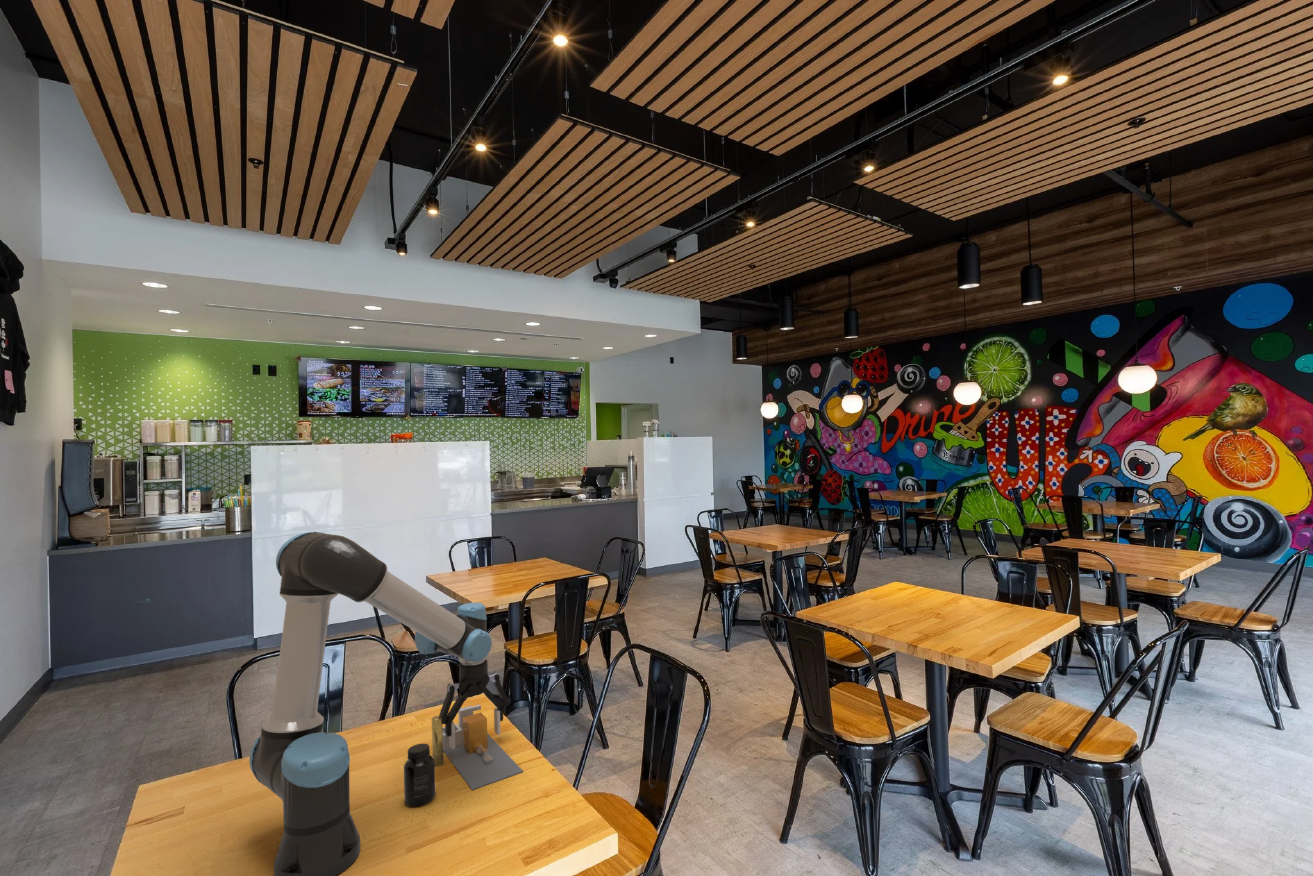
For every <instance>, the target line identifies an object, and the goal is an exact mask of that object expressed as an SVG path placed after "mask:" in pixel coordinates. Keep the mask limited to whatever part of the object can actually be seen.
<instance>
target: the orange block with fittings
mask: <svg viewBox="0 0 1313 876" xmlns="http://www.w3.org/2000/svg"><path fill="white" fill-rule="evenodd" d="M487 733H488V718H487V717H486V716H485V715H484V713H482V712H478V713H473V715H470V716H466V717H463V737H464V748H465V749H466V750H467V751H468V752H469V754H470V753H474V752H475V753H476V754H477V755H478V756H479V757H480V756H481V757H482V761H483V762H484V763H485V764H486V765H487V764H490V763H493V758H492V757H491V756H490V755H488V751H487V750H486V748H488V740H487Z"/></svg>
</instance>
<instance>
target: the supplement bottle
mask: <svg viewBox="0 0 1313 876" xmlns="http://www.w3.org/2000/svg"><path fill="white" fill-rule="evenodd" d="M403 787H404V788H403V789H404V795H403V796H404V803H405V805H406V806H408V807H413V808H417V807H422V806H425V805H428V804H429V803H430V802H432V801H433V800H434V799H435V797H436V794H437V793H436V770H435V763H434V758H433V755H431V751H430V745H429V744H428V743H424V742H423V743H417V744H414V745H412V746H410V747H409V748H408V749H407V760H406V761H405V762H404V765H403Z"/></svg>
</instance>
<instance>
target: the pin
mask: <svg viewBox="0 0 1313 876" xmlns="http://www.w3.org/2000/svg"><path fill="white" fill-rule="evenodd" d="M431 738H432V739H431V743H432V757H433V758H434V763H435V767H436V768H437V767H441V766H442V765H444V763H445V762H444V760H445V759H444V751H443V724H442V716H439V715H434V716H433V717H432V718H431Z"/></svg>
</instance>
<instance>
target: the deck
mask: <svg viewBox="0 0 1313 876" xmlns="http://www.w3.org/2000/svg"><path fill="white" fill-rule="evenodd" d="M481 710H482V705H481V704H477V705H473V706H472V705H468V706H464V707H461V708H460V710H459V711H458V713H457V714H458V723H454V724H455V749H452V748H451V747H450V746H449V737H447V735H446V733H445V726H442V728H443V754H445V755H446V757H447V758H448V760H449V761H450V762H451V763H452V765H453V766H454V768H455V769H456V771H457V772H458V773H459V775H460V776H461V777H462V779H463V781H465V783H466V784H467V785H468V787H469V788H470V789H471V791H473V790H476V789H480V788H482V787H486V786H488V785H491V784H493V783H494V784H495V783H496V782H499V781H503V780H505V779H508V778H510V777H511V778H512V777H513V776H516V775H519V774H521V773H523V772H524V771H523V769H522V768H521V767H520V766H519V765H518V764H517V763H516V762H515V760H513V759H512V758H511V757H510V756H509V755H508V753H507V752H506V751H505V750H504V749H503V748H502V747H501V746H500V745H499V744H498V743H497V742H496V741H495V739H494V738H493V737H492V736H490V734H489V733H488V732H487V740H488V748H486V750H487V751H488V755H490V756H491V757H492V758H493V763H490V764H487V765H486V764H485V763H484V762H483V761H482V757H481V756H480V757H479V756H478V755H477V754H476V753H475V752H474V753H470V754H469V752H468V751H467V750H466V749H465V748H464V737H463V717H466V716H470V715H473V714H474V712H476V711H481Z"/></svg>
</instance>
